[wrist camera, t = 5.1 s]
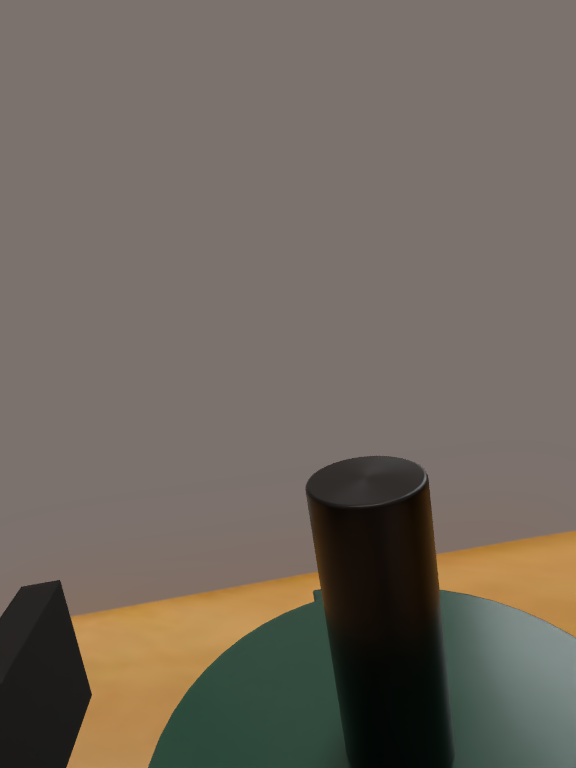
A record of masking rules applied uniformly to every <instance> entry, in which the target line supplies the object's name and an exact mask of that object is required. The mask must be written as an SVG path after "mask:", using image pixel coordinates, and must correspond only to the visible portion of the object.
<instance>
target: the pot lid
mask: <svg viewBox="0 0 576 768" xmlns="http://www.w3.org/2000/svg"><path fill="white" fill-rule="evenodd" d="M306 495H307V502H308V509H309V515H310V521H311V527H312V533H313V540H314V547H315V554H316V560H317V566H318V573H319V579H320V586H321V592H322V600H319V601H315V602H312V603H309V604H306V605H303V606H301V607H299V608H296V609H294V610H291V611H289V612H286V613H284V614H282V615H280V616H278V617H276V618H274V619H272V620H271V621H269V622H267V623H265V624H263V625H261V626H260V627H258V628H257V629H255V630H253V631H252V632H250V633H249V634H247V635H246V636H244V637H243V638H241V639H240V640H239V641H238V642H236V643H235V644H234V645H232V646H231V647H230V648H229V649H227V650H226V651H225V652H224V653H222V654H221V655H220V656H219V657H218V658H217V659H216V660H215V661H214V662H213V663H212V664H211V665H210V666H209V667H208V668H207V669H206V670H205V671H204V672H203V673H202V674H201V676H200V677H199V678H198V679H197V680H196V681H195V683H194V684H193V685H192V686H191V687H190V688H189V690H188V691H187V693H186V694H185V696H184V697H183V699H182V700H181V701H180V703H179V704H178V706H177V707H176V709H175V710H174V712H173V713H172V715H171V717H170V719H169V721H168V723H167V725H166V727H165V729H164V730H163V732H162V734H161V736H160V738H159V741H158V743H157V746H156V749H155V751H154V754H153V756H152V759H151V761H150V764H149V767H148V768H576V638H575V637H574V636H572V635H570V634H569V633H567V632H565V631H563V630H561V629H559V628H557V627H556V626H554V625H552V624H550V623H548V622H546V621H544V620H542V619H540V618H537V617H535V616H533V615H530V614H528V613H526V612H524V611H521V610H519V609H516V608H513V607H510V606H507V605H504V604H501V603H498V602H495V601H492V600H488V599H484V598H480V597H476V596H472V595H468V594H462V593H456V592H450V591H445V590H439V581H438V571H437V561H436V551H435V542H434V531H433V521H432V511H431V501H430V490H429V480H428V475H427V473H426V471H425V470H424V469H423V468H422V467H421V466H420V465H418V464H417V463H415V462H412V461H409V460H406V459H402V458H397V457H389V456H369V457H368V456H367V457H358V458H352V459H348V460H343V461H340V462H336V463H333V464H331V465H328V466H326V467H324V468H322V469H320V470H318V471H317V472H316V473H314V474H313V475H312V476H311V477H310V478H309V480H308V482H307V484H306Z"/></svg>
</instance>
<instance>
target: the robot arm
mask: <svg viewBox="0 0 576 768" xmlns="http://www.w3.org/2000/svg"><path fill="white" fill-rule="evenodd" d="M91 696H92V694H91V690H90V686H89V683H88V679H87V675H86V672H85V668H84V665H83V661H82V657H81V654H80V650H79V647H78V643H77V639H76V636H75V632H74V629H73V625H72V621H71V618H70V615H69V611H68V607H67V604H66V600H65V596H64V593H63V589H62V585H61V582H60V580H57V581H52V582H46V583H40V584H36V585H29V586H24V587H21V588H20V590H19V591H18V593H17V594H16V596H15V597H14V599H13V600H12V601H11V603H10V604H9V606H8V607H7V609H6V610H5V612H4V613H3V615H2V616H1V617H0V768H66V767H67V764H68V761H69V758H70V755H71V753H72V750H73V747H74V744H75V741H76V738H77V736H78V733H79V730H80V727H81V724H82V721H83V719H84V716H85V713H86V710H87V707H88V704H89V702H90V699H91Z"/></svg>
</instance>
